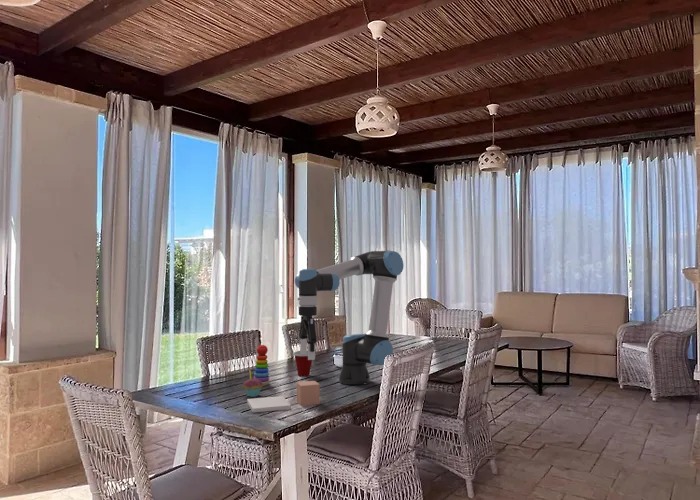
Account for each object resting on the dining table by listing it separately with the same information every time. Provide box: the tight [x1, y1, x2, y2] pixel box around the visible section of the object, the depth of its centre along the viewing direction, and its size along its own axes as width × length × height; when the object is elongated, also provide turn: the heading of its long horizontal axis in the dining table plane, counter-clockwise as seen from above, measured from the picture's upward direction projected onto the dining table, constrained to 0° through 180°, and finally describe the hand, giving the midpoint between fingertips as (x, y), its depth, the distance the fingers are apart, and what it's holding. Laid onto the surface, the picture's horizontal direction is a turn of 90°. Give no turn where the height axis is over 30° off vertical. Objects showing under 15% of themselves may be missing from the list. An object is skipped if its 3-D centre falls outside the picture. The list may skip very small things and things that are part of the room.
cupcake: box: [242, 368, 264, 398], centre depth 229 cm, size 9×8×12 cm
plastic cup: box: [292, 349, 313, 377], centre depth 269 cm, size 11×11×12 cm
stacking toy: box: [252, 344, 270, 387], centre depth 249 cm, size 8×8×19 cm
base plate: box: [246, 395, 292, 413], centre depth 212 cm, size 15×15×2 cm
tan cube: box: [296, 380, 321, 406], centre depth 218 cm, size 8×7×8 cm
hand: (307, 356), depth 218 cm, fingers open, 13 cm apart
